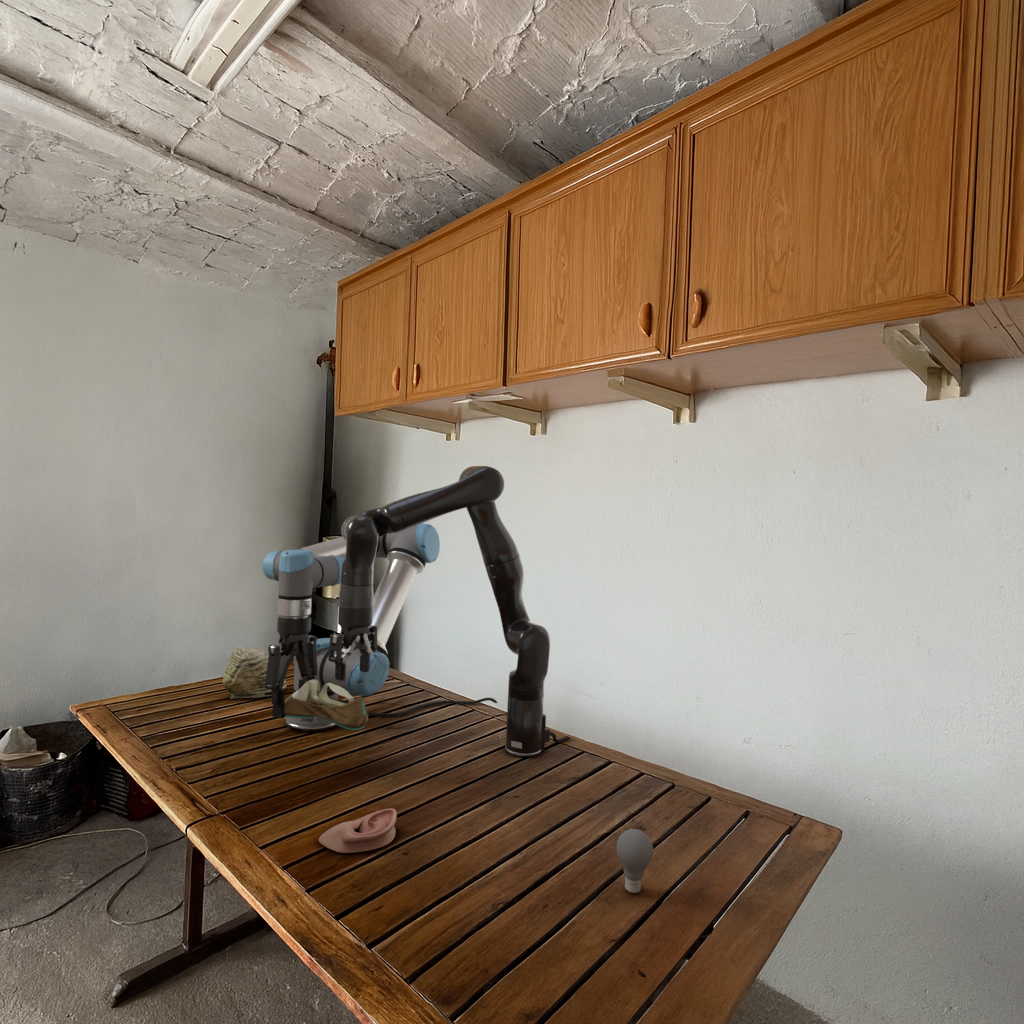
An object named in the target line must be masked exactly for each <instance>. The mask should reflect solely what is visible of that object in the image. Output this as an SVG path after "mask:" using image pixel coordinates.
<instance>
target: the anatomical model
mask: <svg viewBox="0 0 1024 1024" xmlns="http://www.w3.org/2000/svg"><path fill="white" fill-rule="evenodd" d="M397 816H398V813H397V810H396V809H395V808H392V807H390V808H384V809H380V810H377V811H374V812H371V813H369V814H366V815H364V816H362V817H360V818H357V819H354V820H348V821H343V822H341V823H339V824H335V825H334V826H332V827H330V828H328V830H326V831H324V832H323V833H322V834H321V835H320V836H319V837H318V842H319V843H320V844H321V845H322V846H324V847H325V848H327V849H329V850H332V851H333V852H336V853H339V854H351V853H361V852H367V851H372V850H376V849H380V848H382V847H385V846H387V845H389V844H390V843H392V842H393V840H394V839H395V837H396V833H397V832H396V827H395V825H396V823H397V818H398V817H397Z"/></svg>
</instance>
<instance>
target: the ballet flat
mask: <svg viewBox="0 0 1024 1024" xmlns="http://www.w3.org/2000/svg"><path fill="white" fill-rule="evenodd" d="M328 686H329V687H330V689H331V690H332V691H334V692H335V693H337V695H338V696H341V697H343V698H346V699H339V698H338V699H334V698H330V697H328V695H327V687H328ZM368 713H369V712H368V710H367V707H366V704H365V701H364V696H360V695H359V697H358V696H357V697H356V698H354V697H353V695H352V694H349V692H348V691H346V690H345V689H344V688H342V687H340V686H337V685H334V684H332V683H327V684H325V685H324V687H323V689H322V691H321V693H320V684H319V681H318V680H310V681H307V682H306V683H305V684H304V685H303V686H302V687H301V688H300V689H299V690H298V691H296V692H295V693H294V692H293V693H291V694H290V695H289V696H287V697H286V698H285V700H284V718H286V717H291V718H311V717H315V716H318V717H322V718H324V719H326V720H328V721H330V722H332V723H334V724H336V725H338V726H337V727H340V728H343V729H346V730H349V731H360V730H362V729H363V728H365V727H366V724H367V723H368V721H369V716H368Z"/></svg>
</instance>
